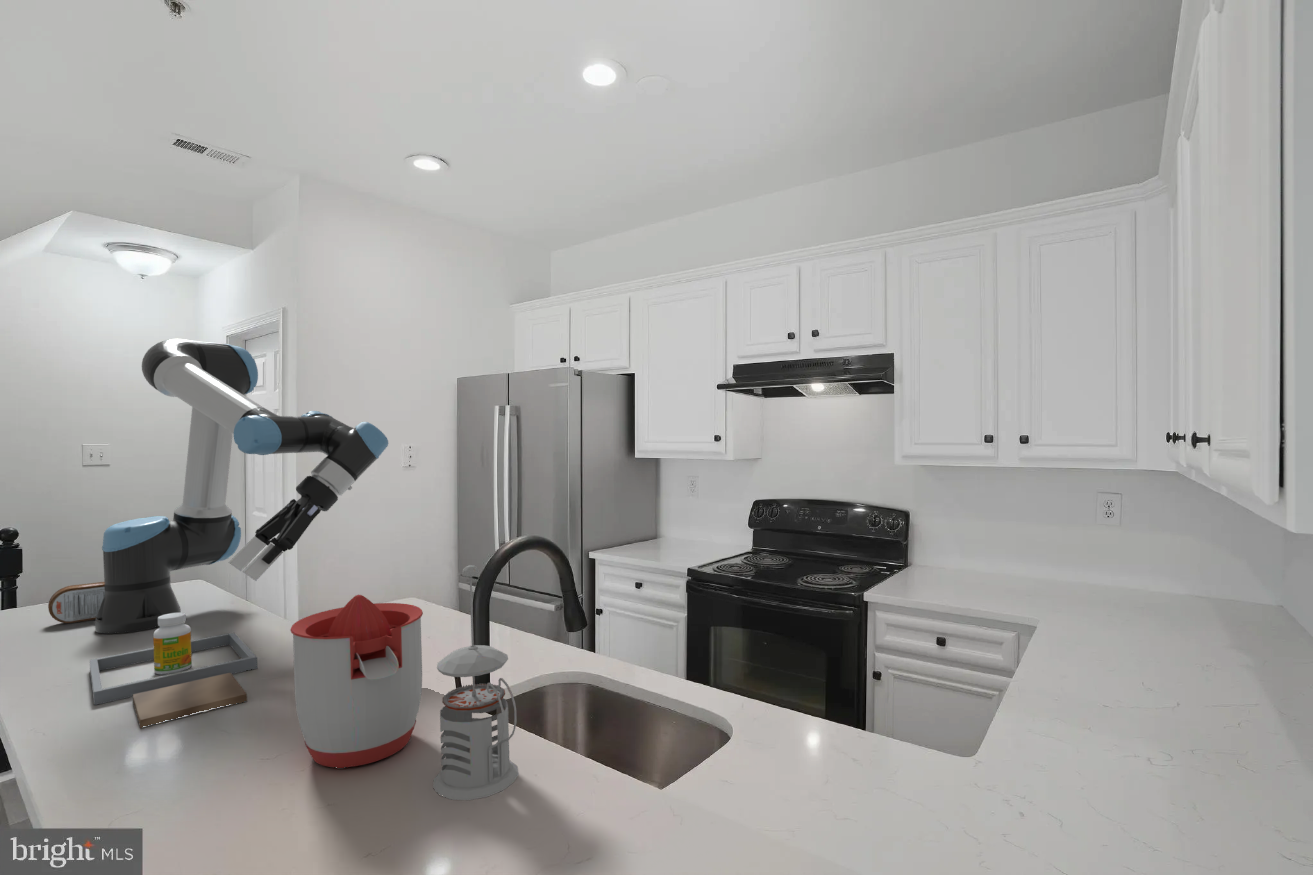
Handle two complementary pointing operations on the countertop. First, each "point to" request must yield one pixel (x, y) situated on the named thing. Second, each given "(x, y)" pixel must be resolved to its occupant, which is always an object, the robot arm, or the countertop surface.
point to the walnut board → (187, 698)
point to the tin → (77, 602)
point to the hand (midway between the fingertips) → (241, 571)
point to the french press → (474, 724)
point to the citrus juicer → (358, 680)
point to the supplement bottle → (172, 644)
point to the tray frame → (128, 689)
